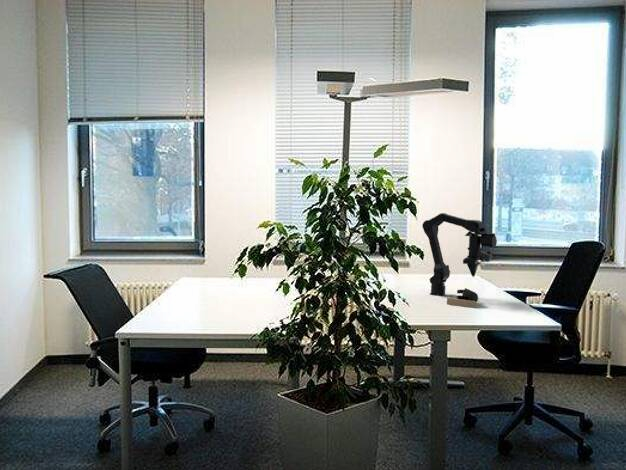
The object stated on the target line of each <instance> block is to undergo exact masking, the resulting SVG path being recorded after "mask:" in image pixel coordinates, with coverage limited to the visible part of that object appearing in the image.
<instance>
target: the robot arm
mask: <svg viewBox="0 0 626 470" xmlns="http://www.w3.org/2000/svg"><path fill="white" fill-rule="evenodd" d="M444 222H445V223H448V224H451V225H455V226H458V227H462V228H464V229H465V230H467V231H468V232H467V233H466V234H465V235H464V236H465V237H468V238H469V239H468V247H467V250H468V255H467V256H466V257H464V259H463V260H462V264H465V265H467V268H468V270H469V272H470V275H471V277H473V278H474V277H475V276H476V274H477V273H476V272H477V269H478V267H479V266H480V265H481V264H482V262H487V263H488V262H491V260H492V258H493V254H492V251H490V250H487V251H484V250H483V248H482V247H487V248H496V247H497V244H498V239H497V236H496V233H494V232H493V233H489V232H487V230H486V229H485V227H484V223H483V222H482V221H481V220H479V219H478V220H477V219H465V218H463V217H458V216H454V215H452V214H448V213H446V212H441V213H439V214H437V215H436V216H434V217H432V218H430V219H426V220H424V221H423V223H422V225H421V226H422V230H423V232H424V234H425V235H426V237H427V238H428V241H429V246H430V250H431V254H432V258H433V263H434V267H433V275H432V276H431V277H429V283H430V284H431V285H430V286H431V287H430V293H429V295H432V296H444V295H445V294H446V284H445V283H446V282H447V280H448V279H449V278H450V275H451V271H450V266H449V264H446V263H445V262H444V258H443V253H442V249H441V246H440V245H441V244H440V242H439V240H440V239H439V237H438V235H439V226H441V225H442V224H443V223H444ZM481 246H482V247H481ZM480 261H482V262H480Z"/></svg>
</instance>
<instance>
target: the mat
mask: <svg viewBox="0 0 626 470" xmlns="http://www.w3.org/2000/svg"><path fill="white" fill-rule="evenodd" d="M484 303H485V302H482V301H469V300H461V299H457V298H452V297H447V298H446V305H450V306H457V307H458V306H459V307H465V308H473V309H477V308H478V307H480V306H482V305H483V304H484Z"/></svg>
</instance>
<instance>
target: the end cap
mask: <svg viewBox="0 0 626 470" xmlns="http://www.w3.org/2000/svg"><path fill="white" fill-rule="evenodd" d="M456 294H462V295H456V299H461V300H469V301H477V302H479V301H478V300H479V295H478V293H476V292H475V291H473V290H472V289H468V288H464V289H457V290H456Z"/></svg>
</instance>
